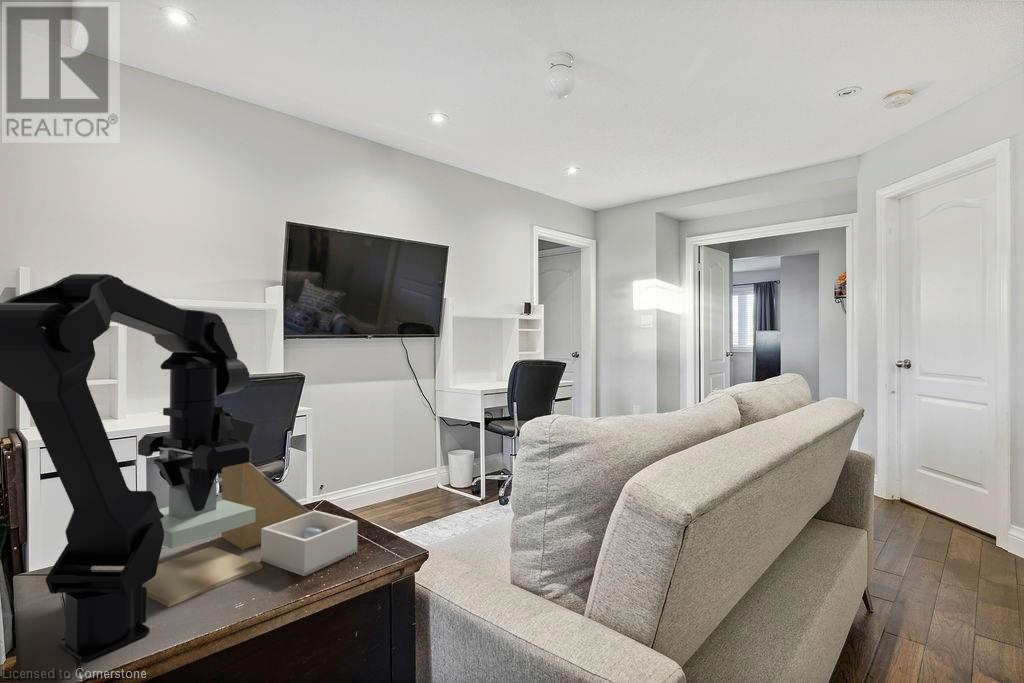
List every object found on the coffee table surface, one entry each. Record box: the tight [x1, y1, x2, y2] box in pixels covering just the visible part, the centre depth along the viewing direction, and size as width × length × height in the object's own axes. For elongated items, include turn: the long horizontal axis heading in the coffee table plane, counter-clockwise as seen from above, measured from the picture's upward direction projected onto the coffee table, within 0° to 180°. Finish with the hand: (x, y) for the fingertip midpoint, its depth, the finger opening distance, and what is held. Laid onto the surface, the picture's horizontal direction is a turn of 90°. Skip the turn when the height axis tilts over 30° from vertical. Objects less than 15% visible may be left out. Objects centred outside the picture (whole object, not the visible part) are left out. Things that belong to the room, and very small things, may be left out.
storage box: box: [260, 510, 358, 577], centre depth 82 cm, size 10×10×5 cm
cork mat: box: [142, 546, 263, 608], centre depth 75 cm, size 13×13×1 cm
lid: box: [158, 481, 256, 549], centre depth 75 cm, size 12×12×6 cm
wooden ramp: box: [221, 461, 311, 550], centre depth 93 cm, size 9×15×15 cm, turn 140°
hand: (192, 508), depth 75 cm, fingers closed on lid, 3 cm apart
